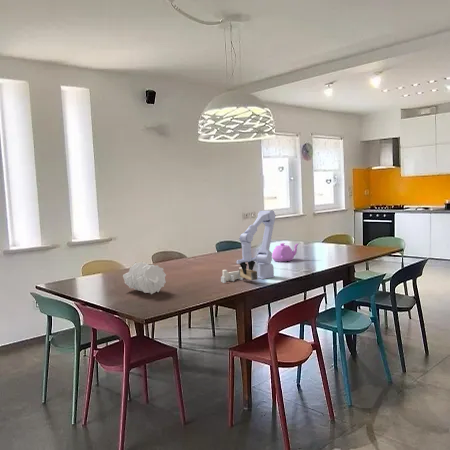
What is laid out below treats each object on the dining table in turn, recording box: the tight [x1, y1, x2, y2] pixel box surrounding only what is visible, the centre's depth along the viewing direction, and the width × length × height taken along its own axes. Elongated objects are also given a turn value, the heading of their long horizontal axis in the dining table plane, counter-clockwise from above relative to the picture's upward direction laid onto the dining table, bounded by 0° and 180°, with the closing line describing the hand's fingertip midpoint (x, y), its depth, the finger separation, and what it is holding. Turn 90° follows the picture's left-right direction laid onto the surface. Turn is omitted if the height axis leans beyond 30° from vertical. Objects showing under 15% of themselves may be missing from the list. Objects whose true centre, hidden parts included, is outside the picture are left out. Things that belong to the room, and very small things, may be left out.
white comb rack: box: [220, 266, 244, 284], centre depth 303 cm, size 21×6×7 cm, turn 120°
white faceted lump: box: [122, 261, 167, 295], centre depth 281 cm, size 18×18×25 cm
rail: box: [238, 268, 258, 281], centre depth 293 cm, size 4×15×5 cm, turn 30°
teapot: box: [271, 242, 299, 263], centre depth 367 cm, size 22×22×14 cm
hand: (247, 273), depth 293 cm, fingers closed on rail, 4 cm apart
